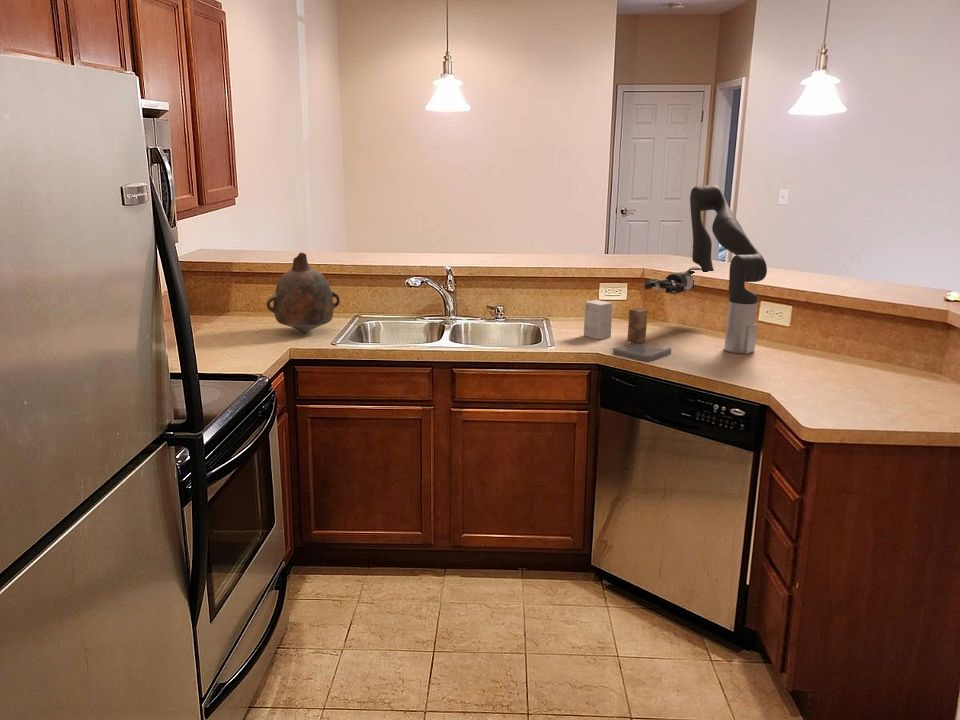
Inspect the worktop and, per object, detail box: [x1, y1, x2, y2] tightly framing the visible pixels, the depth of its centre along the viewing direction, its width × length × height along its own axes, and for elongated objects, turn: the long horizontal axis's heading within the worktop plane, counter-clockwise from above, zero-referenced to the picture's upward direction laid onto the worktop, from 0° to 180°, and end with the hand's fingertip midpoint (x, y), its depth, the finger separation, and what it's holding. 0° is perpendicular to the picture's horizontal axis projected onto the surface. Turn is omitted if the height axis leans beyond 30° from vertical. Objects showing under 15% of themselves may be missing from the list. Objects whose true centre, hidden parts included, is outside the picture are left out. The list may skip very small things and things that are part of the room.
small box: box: [583, 299, 613, 340], centre depth 289 cm, size 8×6×13 cm
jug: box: [266, 252, 341, 333], centre depth 288 cm, size 24×21×30 cm
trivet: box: [612, 343, 672, 362], centre depth 267 cm, size 14×14×2 cm
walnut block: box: [626, 307, 648, 344], centre depth 281 cm, size 5×5×12 cm
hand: (656, 288), depth 286 cm, fingers open, 8 cm apart
